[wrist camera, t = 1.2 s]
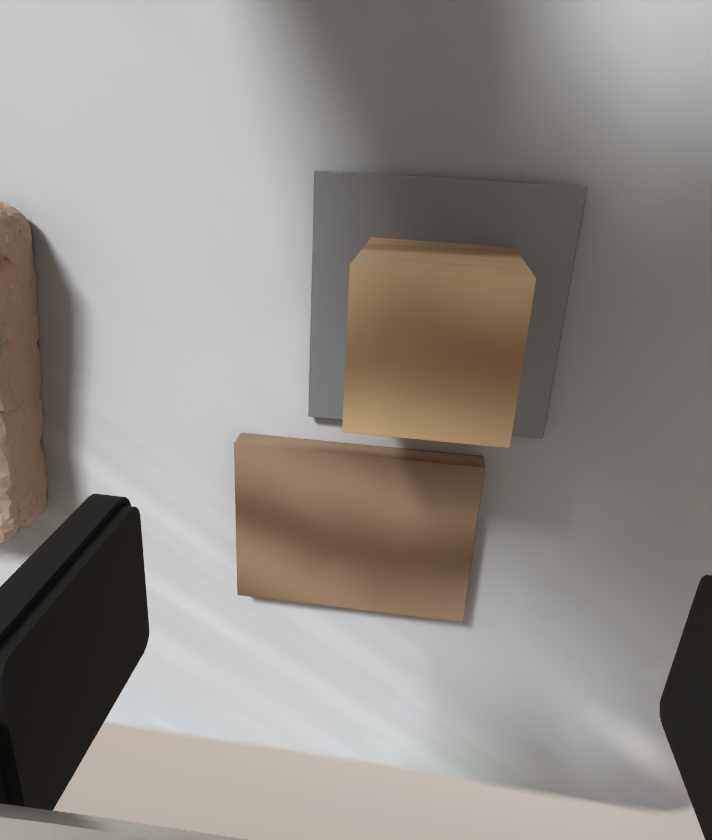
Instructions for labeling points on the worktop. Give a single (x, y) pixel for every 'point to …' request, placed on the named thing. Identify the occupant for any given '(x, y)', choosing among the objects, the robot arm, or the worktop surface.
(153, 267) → the worktop surface
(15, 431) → the brick
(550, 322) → the pad
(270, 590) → the walnut board
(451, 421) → the oak block
